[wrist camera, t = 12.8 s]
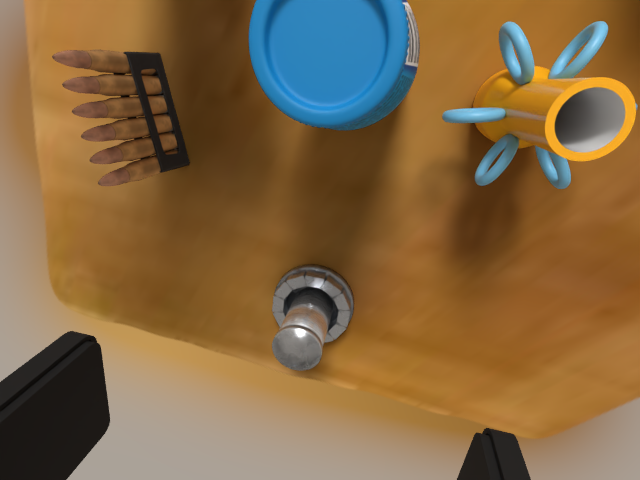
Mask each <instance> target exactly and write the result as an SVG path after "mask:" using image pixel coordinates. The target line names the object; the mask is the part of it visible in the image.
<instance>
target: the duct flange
mask: <svg viewBox="0 0 640 480" xmlns="http://www.w3.org/2000/svg"><path fill="white" fill-rule="evenodd" d="M306 287H315V288H320V289H322V290H323V291H325V292H326V293H327V294H328V295H329V296H330V297H331V299H332V301H333V312H332V315H331V319H330V323H329V326H328V330H327V334H326V337H325V341H324V343H326V342H330V341H333V340H334V339H336V338H337V337H338V336H339V335H340V334H341V333H343V332H344V331H345V330H346V328H347V326H348V323H349V321H350V319H351V317H352V314H353V309H354V297H353V293H352V290H351V288H350V286H349V285H348V283H347V282H346V281H345V279H344V278H343V277H342V276H340V275H339V274H338V273H337V272H335V271H333V270H331V269H330V268H327V267H324V266H320V265H313V264H308V265H302V266H298V267H295V268H293V269H291V270H290V271H288V272H287V273H286V274H285V275H284V276H283V277H282V278H281V280H280V282H279V283H278V285H277V287H276V290H275V294H274V297H273V309H272V311H274V312H273V315H274V317H275V319H276V321H277V323H278V325H279V327H281V325H282V323H283V321H284V319H285V317H286V315H287V312H288V310H289V308H290V306H291V304H292V302H293V300H294V298H295V296H296V294H297V293H298V292H299V291H300V290H301V289H303V288H306Z"/></svg>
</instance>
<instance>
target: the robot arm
mask: <svg viewBox="0 0 640 480" xmlns="http://www.w3.org/2000/svg"><path fill="white" fill-rule="evenodd" d="M109 423H110V414H109V407H108V399H107V391H106V384H105V376H104V368H103V360H102V353H101V347H100V345H99V344H98V343H97V341H96V338H95V337H94V336H90V335H86V334H82V333H78V332H74V331H70V332H67V333H65V334H64V335H62V336H61V337H60V338H58V339H57V340H56V341H54V342H53V343H52V344H50V345H49V346H48V347H46V348H45V349H44V350H42V351H41V352H40V353H38V354H37V355H36V356H34V357H33V358H32V359H30V360H29V361H28V362H26V363H25V364H24V365H22V366H21V367H20V368H18V369H17V370H16V371H14V372H13V373H12V374H10V375H9V376H8V377H6V378H5V379H4V380H3V381H1V382H0V480H66V479H67V478H68V477H69V476H70V475H71V473H72V472H73V471H74V470H75V469H76V467H77V466H78V465H79V464H80V463H81V461H82V460H83V459H84V458H85V457H86V455H87V454H88V453H89V452H90V451H91V449H92V448H93V447H94V446H95V445H96V444H97V442H98V441H99V440H100V439H101V438H102V436H103V435H104V434H105V432H106V431H107V429H108V426H109ZM457 480H531V479H530V476H529V473H528V470H527V467H526V464H525V461H524V458H523V456H522V453H521V450H520V447H519V444H518V441H517V439H516V437H515V436H514V434H511V433H506V432H502V431H498V430H494V429H489V428H486V429H484V431H483V433H482V434H481V433H476V434H475V435H474V437H473V440H472V442H471V445H470V448H469V450H468V453H467V455H466V458H465V460H464V463H463V466H462V468H461V470H460V473H459V476H458V478H457Z"/></svg>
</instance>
